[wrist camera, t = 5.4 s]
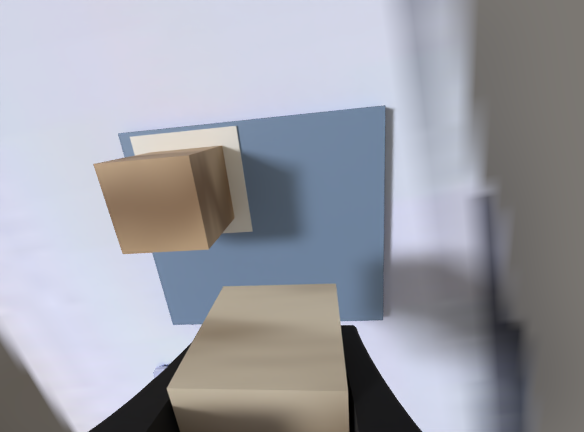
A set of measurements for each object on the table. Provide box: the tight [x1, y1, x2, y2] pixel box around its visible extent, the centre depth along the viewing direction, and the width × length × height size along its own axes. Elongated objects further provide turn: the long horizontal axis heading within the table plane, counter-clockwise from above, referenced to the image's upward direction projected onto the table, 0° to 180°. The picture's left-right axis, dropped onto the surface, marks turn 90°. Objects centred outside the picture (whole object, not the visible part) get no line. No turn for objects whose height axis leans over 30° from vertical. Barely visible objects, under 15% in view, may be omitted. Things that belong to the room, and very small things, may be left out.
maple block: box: [167, 284, 349, 432], centre depth 10 cm, size 4×4×4 cm
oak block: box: [93, 146, 235, 254], centre depth 15 cm, size 4×4×4 cm
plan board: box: [118, 106, 385, 325], centre depth 18 cm, size 14×16×1 cm
